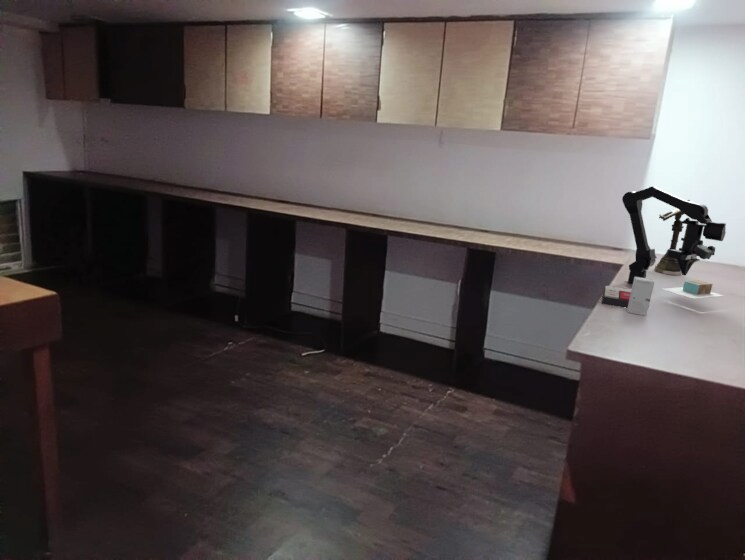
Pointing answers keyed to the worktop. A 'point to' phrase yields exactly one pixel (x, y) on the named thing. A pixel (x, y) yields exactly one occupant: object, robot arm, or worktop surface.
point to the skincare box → (640, 295)
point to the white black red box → (616, 296)
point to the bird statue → (668, 263)
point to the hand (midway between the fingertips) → (683, 275)
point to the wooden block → (697, 287)
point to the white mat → (690, 295)
